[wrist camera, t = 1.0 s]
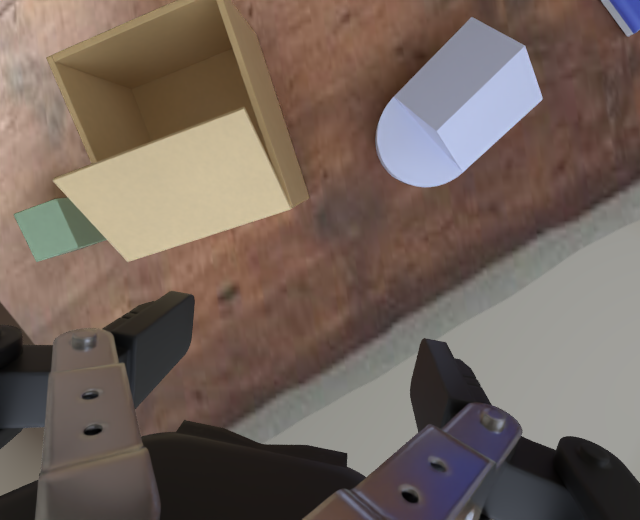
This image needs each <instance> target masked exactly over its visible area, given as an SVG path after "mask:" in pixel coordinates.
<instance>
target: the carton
mask: <svg viewBox="0 0 640 520" xmlns="http://www.w3.org/2000/svg"><path fill="white" fill-rule="evenodd" d="M47 61H48V63H49V65H50V68H51V70H52V72H53V75H54V77H55V79H56V82H57V84H58V86H59V89H60V91H61V93H62V96H63V98H64V100H65V103H66V105H67V107H68V110H69V112H70V114H71V117H72V119H73V121H74V124H75V126H76V128H77V131H78V133H79V135H80V138H81V140H82V142H83V145H84V147H85V149H86V152H87V154H88V156H89V159H90V161H91V163H92V164H93V163H95V162H98V161H101V160H103V159H106V158H109V157H111V156H114V155H117V154H119V153H122V152H125V151H127V150H130V149H133V148H135V147H138V146H141V145H143V144H146V143H149V142H151V141H154V140H157V139H159V138H162V137H164V136H167V135H170V134H172V133H175V132H178V131H180V130H183V129H186V128H188V127H191V126H194V125H196V124H199V123H202V122H204V121H207V120H210V119H212V118H215V117H218V116H220V115H223V114H226V113H228V112H231V111H234V110H236V109H239V108H242V107H245V109H246V111H247V113H248V115H249V118H250V120H251V122H252V124H253V126H254V128H255V131H256V133H257V135H258V137H259V139H260V141H261V143H262V146H263V148H264V150H265V152H266V154H267V156H268V159H269V161H270V163H271V165H272V167H273V169H274V171H275V174H276V176H277V178H278V180H279V182H280V184H281V187H282V189H283V191H284V193H285V195H286V197H287V200H288V202H289V204H290V206H291V208H293V207H295V206H297V205H298V204H300V203H302V202H304V201H305V200H307V199H309V194H308V191H307V188H306V185H305V182H304V179H303V176H302V173H301V170H300V167H299V164H298V161H297V158H296V155H295V151H294V148H293V145H292V142H291V139H290V136H289V133H288V130H287V127H286V124H285V121H284V118H283V115H282V112H281V109H280V105H279V102H278V99H277V96H276V93H275V90H274V87H273V84H272V81H271V78H270V75H269V72H268V69H267V66H266V62H265V59H264V56H263V53H262V50H261V47H260V44H259V41H258V38H257V35H256V34H255V32H254V31H253V30H252V28H251V27H250V26H249V24H248V23H247V22H246V20H245V19H244V18H243V16H242V15H241V14H240V12H239V11H238V10H237V8H236V7H235V6H234V4H233V3H232V2H231V0H177V1H175V2H172V3H170V4H168V5H165V6H163V7H161V8H159V9H156V10H154V11H152V12H149V13H147V14H145V15H142V16H140V17H138V18H136V19H133V20H131V21H129V22H126V23H124V24H122V25H120V26H117V27H115V28H113V29H110V30H108V31H106V32H104V33H101V34H99V35H97V36H94V37H92V38H90V39H88V40H85V41H83V42H81V43H78V44H76V45H74V46H71V47H69V48H67V49H65V50H62V51H60V52H58V53H55V54H53V55H51V56H49V57H47Z"/></svg>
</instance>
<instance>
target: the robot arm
mask: <svg viewBox="0 0 640 520" xmlns="http://www.w3.org/2000/svg"><path fill="white" fill-rule="evenodd" d="M194 304H195V300H194V296H193V295H191V294H186V293H181V292H175V291H170V292H169V293H167V294H166V295H164V296H163V297H161V298H160V299H158V300H157V301H152V302H149V303H145V304H142V305H139V306H137V307H136V308H134V309H133V310H131V311H130V312H129V313H126V314H125V315H123V316H122V318H119V319H117V320H115V321H114V322H112V323H111V324H109V325H108V326H106V327H104V328H103V329H96V328H84V329H76V330H72V331H68V332H65V333H63V334H61V335H59V336H58V337H57V338H55V340H54V342H53V345H23V342H22V331H21V330H20V329H19V328H17V327H14V326H9V325H0V449H1V448H2V447H3V446H4V445H6V444H7V443H8V442H9V441H10V440H12V439H13V438H14V437H15V436H16V435H17V434H18V433H20V432H21V431H22V429H23V428H28V427H44V440H43V453H42V465H41V473H40V474H39V480H37V481H34V482H32V483H30V484H27V485H25V486H22V487H20V488H18V489H16V490H13V491H11V492H9V493H6V494H4V495H2V496H0V520H640V483H639V482H638V481H637V479H636V478H635V477H634V476H633V475H632V473H631V472H630V471H629V470H628V468H627V467H626V466H625V465H624V464H623V463H622V462H621V461H620V460H619V459H618V458H617V457H616V456H615V455H613V454H612V453H611V452H609V451H608V450H606V449H604V448H603V447H601V446H599V445H597V444H595V443H593V442H590V441H587V440H585V439H582V438H578V437H571V436H567V437H563V438H561V439H560V441H559V443H558V446H557V449H556V450H554V449H551V448H549V447H546V446H544V445H541V444H538V443H536V442H533V441H531V440H528V439H526V438H524V437H522V436H521V435H522V428H521V426H520V424H519V423H518V421H517V420H516V419H515V418H514V417H512V416H511V415H510V414H508V413H507V412H505V411H503V410H501V409H499V408H497V407H495V406H492V405H491V403H490V402H489V399H488V398H487V396H486V394H485V392H484V391H483V389H482V388H481V387H480V384H479V382H478V380H476V377H475V375H474V373H473V372H472V370H471V368H470V367H468V366H467V365H466V364H465V363H464V362H463V361H461V360H460V359H455V358H454V357H453V355H452V353H451V351H450V349H449V347H448V345H447V343H446V342H441V341H436V340H430V339H425V338H424V339H423V340H422V341H421V344H420V347H419V351H418V355H417V360H416V364H415V368H414V372H413V376H412V380H411V387H410V398H411V403H412V406H413V411H414V415H415V420H416V424H417V428H418V434H416V435H415V436H414V437H413V438H412V439H411V440H409V441H408V442H407V443H406V444H405V445H403V446H402V447H401V448H400V449H399V450H398V451H397V452H396V453H394V454H393V455H392V456H391V457H390V458H389V459H387V460H386V461H385V462H384V463H383V464H382V465H380V466H379V467H378V468H377V469H376V470H375V471H373V472H372V473H371V474H370V475H369V476H368V477H365V476H364V475H362V474H360V473H359V472H357V471H355V470H353V469H351V468H348V467H347V453H343V452H338V451H333V450H328V449H323V448H318V447H313V446H309V445H265V444H260V443H257V442H255V441H253V440H250V439H248V438H246V437H243V436H241V435H238V434H236V433H234V432H231V431H229V430H227V429H224V428H220V427H215V426H210V425H205V424H201V423H196V422H191V421H186V420H184V421H183V423H182V424H181V426H180V427H179V429H178V430H177V431H176V432H164V433H156V434H150V435H146V436H142V437H141V434H140V430H139V425H138V421H137V416H136V412H135V409H136V408H137V407H138V405H139V404H140V403H141V402H142V401H143V400H144V399H145V398H146V397H147V396H148V395H149V393H150V392H151V391H152V390H153V389H154V388H155V387H156V386H157V385H158V384H159V382H160V381H161V380H162V379H163V378H164V377H165V376H166V375H167V374H168V373H169V371H170V370H171V369H172V368H173V367H174V366H175V365H176V364H177V363H178V362H179V361H180V359H181V358H182V357H183V356H184V355H185V354H186V352H187V351H188V348H189V346H190V343H191V338H192V328H193V316H194Z"/></svg>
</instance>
